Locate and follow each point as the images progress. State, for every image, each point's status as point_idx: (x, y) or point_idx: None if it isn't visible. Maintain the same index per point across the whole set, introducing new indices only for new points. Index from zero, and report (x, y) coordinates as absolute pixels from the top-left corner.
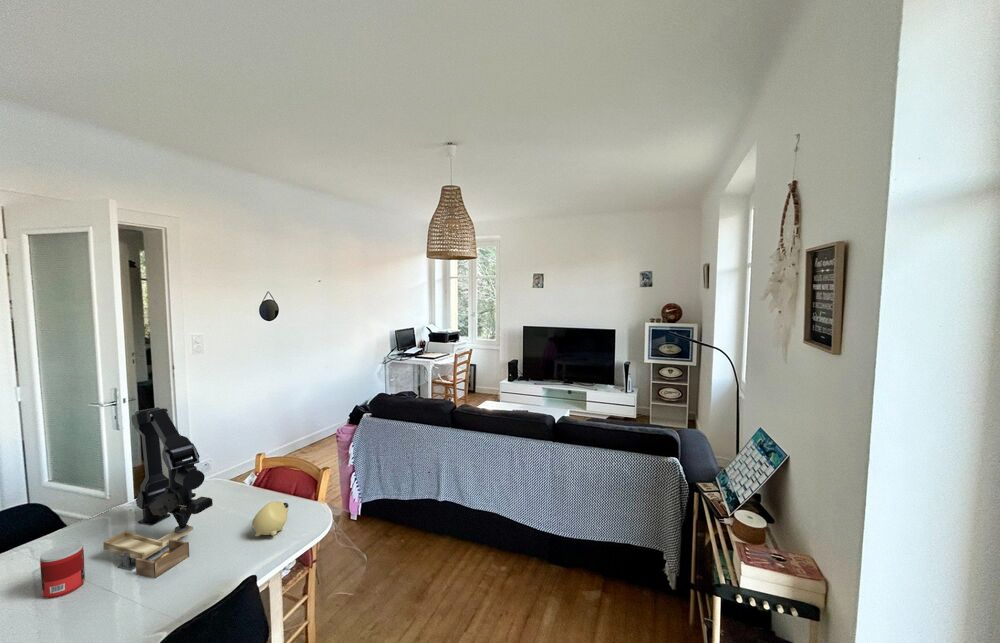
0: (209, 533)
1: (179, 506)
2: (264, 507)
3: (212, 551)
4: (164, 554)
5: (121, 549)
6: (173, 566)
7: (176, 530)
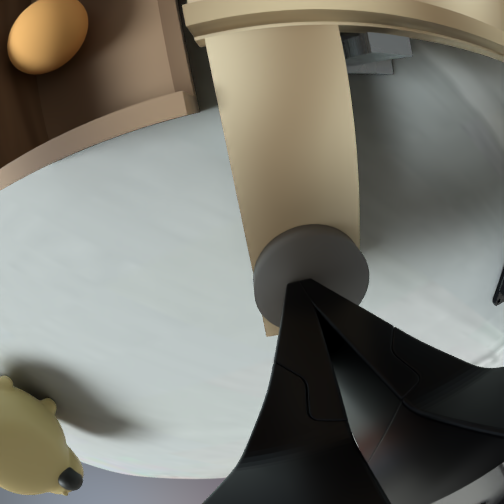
0: (212, 337)
1: (443, 501)
2: None
3: (17, 257)
4: (35, 16)
5: None
6: None
7: (311, 241)
